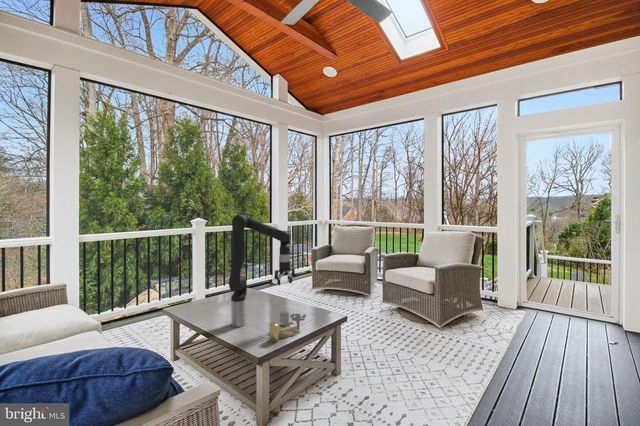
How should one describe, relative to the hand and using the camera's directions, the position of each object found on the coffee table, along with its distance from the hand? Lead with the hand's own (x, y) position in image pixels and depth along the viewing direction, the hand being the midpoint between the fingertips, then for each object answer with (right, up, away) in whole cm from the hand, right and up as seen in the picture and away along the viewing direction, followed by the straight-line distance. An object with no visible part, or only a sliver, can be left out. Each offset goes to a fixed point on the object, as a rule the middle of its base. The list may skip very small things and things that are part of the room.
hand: (284, 284), depth 215 cm
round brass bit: (-4, -29, -22) cm, 37 cm away
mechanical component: (+9, -29, -5) cm, 31 cm away
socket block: (+1, -29, -11) cm, 31 cm away
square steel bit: (+1, -28, -11) cm, 30 cm away
